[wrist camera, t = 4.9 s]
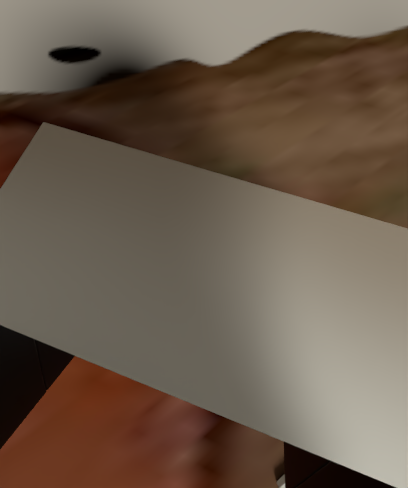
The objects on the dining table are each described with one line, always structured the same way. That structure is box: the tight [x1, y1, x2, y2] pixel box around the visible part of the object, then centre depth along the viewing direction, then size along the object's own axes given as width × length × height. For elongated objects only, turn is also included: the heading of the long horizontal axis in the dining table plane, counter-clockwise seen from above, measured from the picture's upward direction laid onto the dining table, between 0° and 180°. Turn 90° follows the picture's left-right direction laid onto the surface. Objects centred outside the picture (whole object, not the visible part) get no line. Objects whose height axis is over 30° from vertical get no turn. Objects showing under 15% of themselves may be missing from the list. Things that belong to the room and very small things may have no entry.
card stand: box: [0, 122, 408, 488], centre depth 9 cm, size 8×8×13 cm
